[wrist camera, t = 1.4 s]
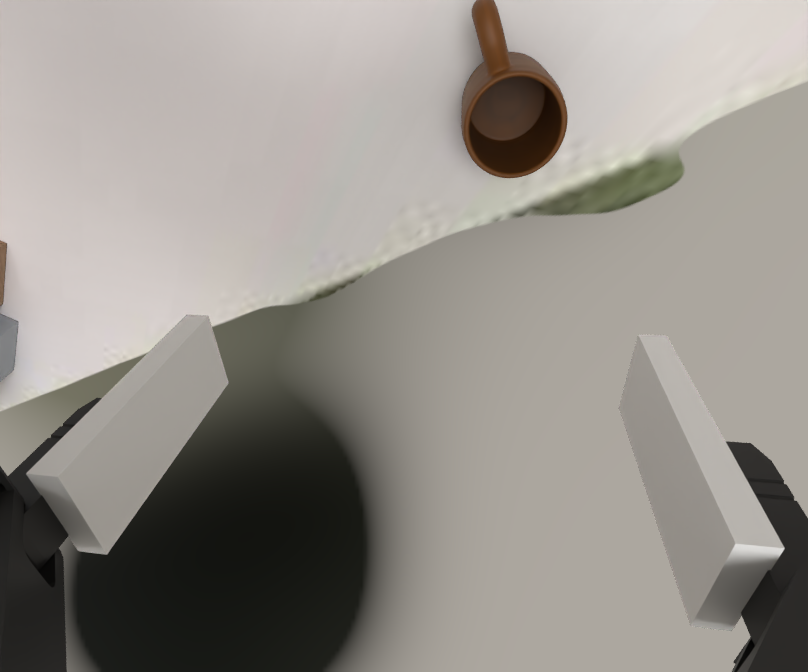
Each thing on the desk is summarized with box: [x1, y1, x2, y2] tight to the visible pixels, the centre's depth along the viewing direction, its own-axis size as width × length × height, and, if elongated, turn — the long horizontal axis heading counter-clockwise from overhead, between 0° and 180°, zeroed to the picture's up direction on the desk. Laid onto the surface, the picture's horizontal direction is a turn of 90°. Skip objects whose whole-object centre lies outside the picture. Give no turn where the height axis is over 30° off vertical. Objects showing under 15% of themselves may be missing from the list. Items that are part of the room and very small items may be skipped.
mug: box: [461, 0, 567, 178], centre depth 37 cm, size 12×8×9 cm, turn 22°
